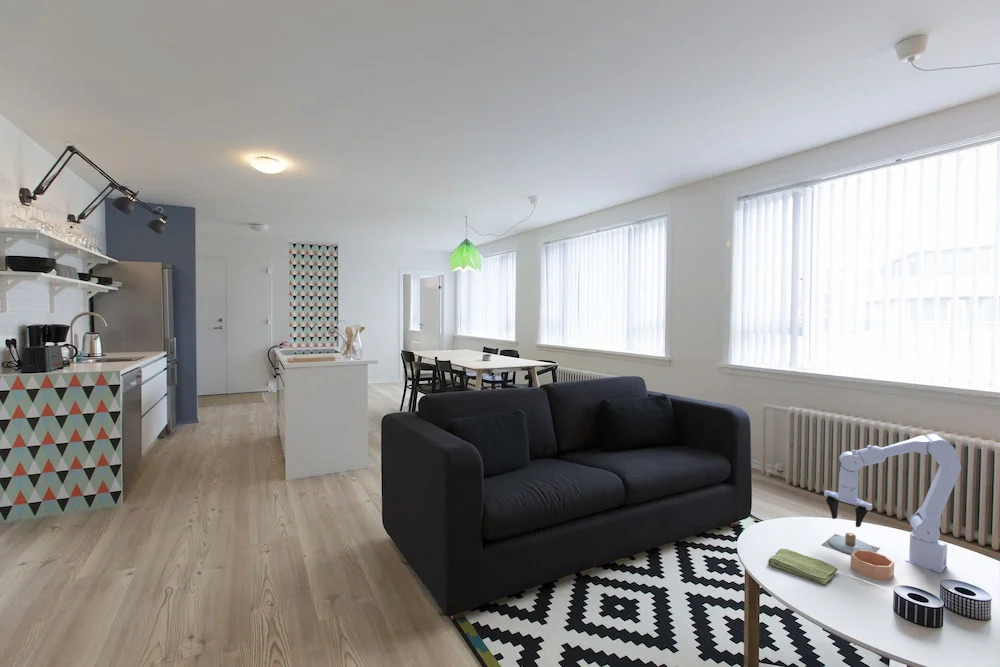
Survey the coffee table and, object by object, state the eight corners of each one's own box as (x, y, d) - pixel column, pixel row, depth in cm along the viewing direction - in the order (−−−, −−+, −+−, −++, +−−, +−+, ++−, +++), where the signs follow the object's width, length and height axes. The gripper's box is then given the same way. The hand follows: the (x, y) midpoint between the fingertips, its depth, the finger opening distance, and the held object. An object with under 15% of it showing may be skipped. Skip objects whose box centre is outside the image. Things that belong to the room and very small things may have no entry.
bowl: (896, 572, 161) (897, 559, 161) (886, 584, 155) (887, 570, 154) (858, 559, 170) (858, 547, 169) (847, 569, 163) (847, 556, 163)
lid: (877, 548, 177) (878, 536, 177) (865, 559, 169) (866, 547, 169) (836, 534, 187) (836, 523, 187) (823, 545, 179) (823, 533, 179)
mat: (879, 549, 177) (879, 548, 177) (866, 561, 168) (866, 560, 168) (835, 534, 188) (835, 533, 188) (820, 546, 179) (821, 545, 179)
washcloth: (826, 588, 153) (827, 578, 153) (766, 566, 166) (766, 557, 166) (838, 573, 162) (838, 563, 162) (780, 553, 175) (780, 544, 175)
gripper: (821, 481, 181) (818, 516, 181) (866, 494, 168) (864, 533, 169) (830, 477, 184) (828, 512, 185) (875, 490, 172) (873, 528, 173)
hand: (846, 522), depth 177 cm, fingers open, 7 cm apart
